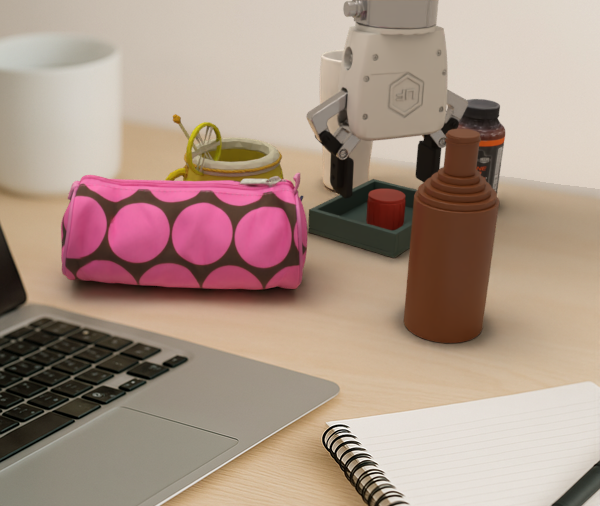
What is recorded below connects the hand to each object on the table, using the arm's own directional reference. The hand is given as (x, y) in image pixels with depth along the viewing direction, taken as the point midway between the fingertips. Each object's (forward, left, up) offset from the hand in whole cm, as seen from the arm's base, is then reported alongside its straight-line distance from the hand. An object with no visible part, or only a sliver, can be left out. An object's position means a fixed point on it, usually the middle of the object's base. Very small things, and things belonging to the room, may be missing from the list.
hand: (384, 187), depth 84 cm
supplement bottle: (-12, +4, -4) cm, 13 cm away
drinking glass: (-8, -10, -4) cm, 14 cm away
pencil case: (+22, -7, -4) cm, 23 cm away
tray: (0, 0, -4) cm, 4 cm away
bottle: (+15, +15, -4) cm, 21 cm away
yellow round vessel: (+10, -13, -4) cm, 17 cm away
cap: (0, 0, -4) cm, 4 cm away
